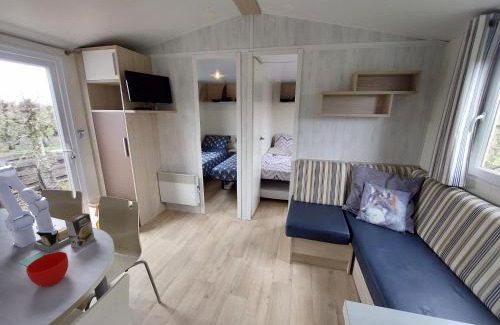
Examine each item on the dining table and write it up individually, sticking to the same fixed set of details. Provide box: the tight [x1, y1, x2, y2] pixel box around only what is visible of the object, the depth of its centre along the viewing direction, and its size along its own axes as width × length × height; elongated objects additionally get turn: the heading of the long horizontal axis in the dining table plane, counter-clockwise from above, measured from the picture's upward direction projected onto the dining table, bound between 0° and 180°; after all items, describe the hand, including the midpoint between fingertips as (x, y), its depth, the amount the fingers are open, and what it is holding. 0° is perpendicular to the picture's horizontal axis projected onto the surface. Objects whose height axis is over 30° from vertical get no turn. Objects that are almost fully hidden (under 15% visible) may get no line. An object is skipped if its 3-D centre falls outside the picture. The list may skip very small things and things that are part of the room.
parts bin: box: [32, 238, 70, 253], centre depth 119 cm, size 14×14×3 cm
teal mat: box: [18, 250, 49, 268], centre depth 106 cm, size 9×9×1 cm
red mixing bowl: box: [25, 251, 69, 288], centre depth 93 cm, size 13×17×10 cm
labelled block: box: [40, 236, 58, 247], centre depth 116 cm, size 5×5×6 cm
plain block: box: [56, 226, 69, 242], centre depth 121 cm, size 5×5×6 cm
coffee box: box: [64, 212, 96, 248], centre depth 117 cm, size 9×6×16 cm
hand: (50, 242), depth 116 cm, fingers closed on labelled block, 5 cm apart
